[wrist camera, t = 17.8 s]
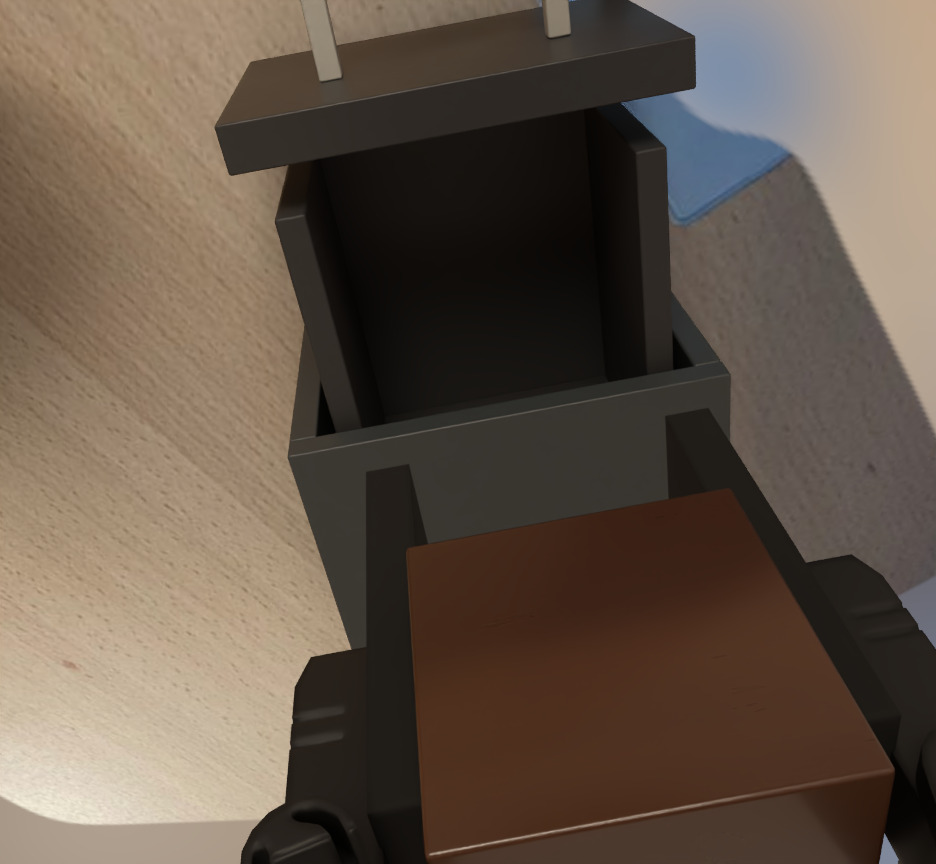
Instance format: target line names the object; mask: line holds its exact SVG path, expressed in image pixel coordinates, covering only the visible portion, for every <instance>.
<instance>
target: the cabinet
mask: <svg viewBox="0 0 936 864" xmlns="http://www.w3.org/2000/svg"><path fill="white" fill-rule="evenodd" d="M671 309H672V340H673V370H672V371H667V372H661V373H656V374H651V375H645V376H640V377H635V378H629V379H624V380H619V381H613V382H608V383H603V384H597V385H592V386H586V387H581V388H576V389H570V390H565V391H560V392H554V393H549V394H544V395H538V396H533V397H528V398H522V399H517V400H511V401H506V402H501V403H495V404H490V405H485V406H479V407H474V408H469V409H463V410H458V411H453V412H447V413H442V414H436V415H431V416H426V417H420V418H415V419H410V420H404V421H399V422H394V423H388V424H383V425H378V426H372V427H367V428H362V429H356V430H351V431H345V432H340V433H336V431H335V428H334V424H333V421H332V418H331V414H330V411H329V407H328V404H327V400H326V397H325V393H324V390H323V387H322V383H321V380H320V376H319V373H318V369H317V366H316V362H315V359H314V356H313V352H312V349H311V345H310V342H309V338H308V335H307V331H306V328H305V326H304V333H303V341H302V349H301V357H300V364H299V372H298V380H297V388H296V396H295V403H294V411H293V419H292V427H291V434H290V443H289V451H288V460H289V463H290V466H291V469H292V472H293V475H294V478H295V481H296V484H297V487H298V490H299V493H300V496H301V499H302V502H303V505H304V508H305V511H306V514H307V517H308V520H309V523H310V526H311V529H312V532H313V535H314V538H315V541H316V544H317V547H318V550H319V553H320V556H321V559H322V562H323V565H324V568H325V571H326V574H327V577H328V580H329V583H330V586H331V589H332V592H333V595H334V598H335V601H336V604H337V607H338V610H339V613H340V616H341V619H342V622H343V625H344V628H345V631H346V634H347V637H348V640H349V643H350V646H351V649H358V648H363V647H366V472H368V471H373V470H379V469H384V468H390V467H395V466H400V465H406V464H409V466H410V470H411V474H412V479H413V483H414V487H415V491H416V495H417V499H418V504H419V508H420V512H421V516H422V520H423V525H424V529H425V533H426V537H427V541H428V544H430V543H435V542H441V541H446V540H451V539H457V538H462V537H468V536H473V535H478V534H484V533H489V532H494V531H500V530H505V529H510V528H516V527H521V526H526V525H532V524H537V523H542V522H548V521H553V520H559V519H564V518H569V517H575V516H580V515H585V514H591V513H596V512H601V511H607V510H612V509H617V508H623V507H628V506H633V505H639V504H644V503H650V502H655V501H660V500H666V499H668V474H667V449H666V425H665V416H667V415H673V414H678V413H683V412H689V411H694V410H699V409H705V408H709V410H710V411H711V413H712V414H713V416H714V418H715V419H716V421H717V422H718V424H719V426H720V427H721V429H722V430H723V432H724V433H725V435H726V437H727V438H728V440H729V441H730V384H731V375H730V373H729V371H728V370H727V369H726V367H725V366H724V364H723V363H722V362H721V361H720V359H719V358H718V357H717V355H716V354H715V352H714V351H713V350H712V348H711V347H710V345H709V344H708V342H707V341H706V340H705V338H704V337H703V335H702V334H701V333H700V331H699V330H698V328H697V327H696V325H695V324H694V323H693V321H692V320H691V318H690V317H689V316H688V314H687V313H686V311H685V310H684V309H683V307H682V306H681V304H680V303H679V301H678V300H677V299H676V297H675V296H674V294H673V293H672V292H671Z"/></svg>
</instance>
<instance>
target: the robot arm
mask: <svg viewBox="0 0 936 864" xmlns="http://www.w3.org/2000/svg"><path fill="white" fill-rule="evenodd" d="M665 425H666V449H667V474H668V499H671V498H676V497H682V496H687V495H692V494H698V493H703V492H708V491H714V490H719V489H724V488H730V489H731V490H732V492H733V493H734V495H735V497H736V498H737V500H738V502H739V503H740V505H741V507H742V509H743V510H744V512H745V514H746V515H747V517H748V519H749V521H750V522H751V524H752V526H753V527H754V529H755V531H756V533H757V534H758V536H759V538H760V539H761V541H762V543H763V544H764V546H765V548H766V550H767V551H768V553H769V555H770V556H771V558H772V560H773V562H774V563H775V565H776V567H777V568H778V570H779V572H780V574H781V575H782V577H783V579H784V580H785V582H786V584H787V585H788V587H789V589H790V591H791V592H792V594H793V596H794V597H795V599H796V601H797V603H798V604H799V606H800V608H801V609H802V611H803V613H804V615H805V616H806V618H807V620H808V621H809V623H810V625H811V626H812V628H813V630H814V632H815V633H816V635H817V637H818V638H819V640H820V642H821V644H822V645H823V647H824V649H825V650H826V652H827V654H828V656H829V657H830V659H831V661H832V662H833V664H834V666H835V668H836V669H837V671H838V673H839V674H840V676H841V678H842V679H843V681H844V683H845V685H846V686H847V688H848V690H849V691H850V693H851V695H852V697H853V698H854V700H855V702H856V703H857V705H858V707H859V709H860V710H861V712H862V714H863V715H864V717H865V719H866V720H867V722H868V724H869V726H870V727H871V729H872V731H873V732H874V734H875V736H876V738H877V739H878V741H879V743H880V744H881V746H882V748H883V750H884V751H885V753H886V755H887V756H888V758H889V760H890V761H891V763H892V765H893V767H894V768H895V776H894V782H893V787H892V793H891V799H890V804H889V810H888V816H887V821H886V827H885V832H884V833H885V835H886V837H887V838H888V840H889V842H890V844H891V846H892V848H893V849H894V851H895V853H896V855H897V857H898V859H899V861H898V864H936V649H935V647H934V646H933V645H932V643H931V642H930V641H929V639H928V638H927V636H926V635H925V634H924V633H923V631H922V630H919V628H918V624H917V623H916V621H915V620H914V618H913V617H912V616H911V614H910V613H909V612H908V610H907V609H906V608H903V606H902V602H901V600H900V599H899V598H898V596H897V595H896V594H895V592H894V591H893V589H892V588H891V587H890V585H889V584H888V583H887V581H886V580H885V578H884V577H883V576H882V575H881V574H879V573H878V572H877V571H875V570H874V569H872V568H871V567H869V566H868V565H866V564H865V563H863V562H862V561H860V560H859V559H857V558H856V557H854V556H853V555H852V554H851V555H845V556H840V557H835V558H829V559H824V560H818V561H813V562H808V563H806V562H805V561H804V559H803V557H802V556H801V554H800V553H799V551H798V549H797V548H796V546H795V545H794V543H793V541H792V540H791V538H790V537H789V535H788V534H787V532H786V530H785V529H784V527H783V526H782V524H781V522H780V521H779V519H778V518H777V516H776V514H775V513H774V511H773V510H772V508H771V507H770V505H769V503H768V502H767V500H766V499H765V497H764V495H763V494H762V492H761V491H760V489H759V487H758V486H757V484H756V483H755V481H754V480H753V478H752V476H751V475H750V473H749V472H748V470H747V468H746V467H745V465H744V464H743V462H742V460H741V459H740V457H739V456H738V454H737V453H736V451H735V449H734V448H733V446H732V445H731V443H730V441H729V440H728V438H727V437H726V435H725V433H724V432H723V430H722V429H721V427H720V426H719V424H718V422H717V421H716V419H715V418H714V416H713V414H712V413H711V411H710V410H709V408H705V409H699V410H694V411H689V412H683V413H678V414H673V415H667V416H665ZM425 544H428V541H427V537H426V533H425V529H424V525H423V520H422V516H421V512H420V508H419V504H418V499H417V495H416V491H415V487H414V483H413V479H412V474H411V470H410V466H409V464H406V465H400V466H395V467H390V468H384V469H379V470H373V471H368V472H366V647H363V648H358V649H352V650H347V651H341V652H336V653H331V654H325V655H320V656H315V657H311V658H310V660H309V662H308V663H307V665H306V667H305V669H304V671H303V673H302V675H301V677H300V678H299V680H298V682H297V684H296V686H295V691H294V703H293V715H292V719H293V724H292V727H291V739H290V745H291V750H290V751H289V763H288V775H287V787H286V798H285V804H283V805H281V806H279V807H278V808H276V809H274V810H272V811H271V812H269V813H268V814H267V815H266V816H265V817H264V818H263V819H262V820H261V821H260V822H259V824H258V825H257V826H256V827H255V828H254V829H253V830H252V832H251V834H250V836H249V838H248V840H247V842H246V844H245V846H244V848H243V850H242V854H241V864H427V863H426V859H425V856H424V843H423V826H422V809H421V793H420V776H419V760H418V743H417V726H416V710H415V693H414V677H413V660H412V643H411V627H410V610H409V594H408V577H407V561H406V551H407V549H408V548H410V547H414V546H419V545H425Z"/></svg>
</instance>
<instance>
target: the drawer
mask: <svg viewBox="0 0 936 864" xmlns="http://www.w3.org/2000/svg"><path fill="white" fill-rule="evenodd" d="M300 2H301V6H302V10H303V14H304V18H305V22H306V27H307V31H308V35H309V39H310V43H311V48H312V50H311V51H306V52H300V53H295V54H290V55H284V56H279V57H274V58H269V59H263V60H258V61H253V62H250V64H249V66H248V68H247V69H246V71H245V73H244V75H243V77H242V78H241V80H240V82H239V84H238V86H237V87H236V89H235V91H234V93H233V95H232V96H231V98H230V100H229V102H228V104H227V105H226V107H225V109H224V111H223V112H222V114H221V116H220V118H219V120H218V121H217V123H216V125H215V131H216V134H217V137H218V140H219V144H220V147H221V150H222V153H223V157H224V160H225V163H226V166H227V169H228V173H229V175H231V176H233V175H238V174H243V173H249V172H254V171H259V170H265V169H270V168H275V167H281V166H286V165H289V166H288V170H287V174H286V178H285V182H284V186H283V190H282V194H281V198H280V202H279V206H278V210H277V214H276V218H275V225H276V228H277V231H278V235H279V238H280V242H281V245H282V249H283V252H284V256H285V259H286V262H287V266H288V269H289V273H290V276H291V280H292V283H293V287H294V290H295V293H296V297H297V300H298V304H299V307H300V311H301V314H302V318H303V321H304V324H305V328H306V331H307V335H308V338H309V342H310V345H311V349H312V352H313V356H314V359H315V362H316V366H317V369H318V373H319V376H320V380H321V383H322V387H323V390H324V393H325V397H326V400H327V404H328V407H329V411H330V414H331V418H332V421H333V424H334V428H335V431H336V433H340V432H345V431H351V430H356V429H362V428H367V427H372V426H378V425H383V424H388V423H394V422H399V421H404V420H410V419H415V418H420V417H426V416H431V415H436V414H442V413H447V412H453V411H458V410H463V409H469V408H474V407H479V406H485V405H490V404H495V403H501V402H506V401H511V400H517V399H522V398H528V397H533V396H538V395H544V394H549V393H554V392H560V391H565V390H570V389H576V388H581V387H586V386H592V385H597V384H603V383H608V382H613V381H619V380H624V379H629V378H635V377H640V376H645V375H651V374H656V373H661V372H667V371H672V370H673V340H672V309H671V277H670V246H669V215H668V183H667V152H666V147H665V145H663V144H662V143H661V142H660V141H659V140H658V139H657V138H656V137H655V136H654V135H653V134H652V133H651V132H650V131H649V130H648V129H647V128H646V127H645V126H644V125H643V124H642V123H641V122H640V121H638V120H637V119H636V118H635V117H634V116H633V115H632V114H631V113H630V112H629V111H628V110H627V109H626V108H625V107H624V106H623V105H622V104H621V102H626V101H632V100H637V99H642V98H647V97H653V96H658V95H663V94H669V93H674V92H679V91H685V90H690V89H694V88H695V87H696V61H695V36H694V35H692V34H690V33H688V32H686V31H684V30H683V29H681V28H678V27H677V26H675V25H673V24H672V23H670V22H668V21H666V20H664V19H662V18H660V17H658V16H657V15H654V14H653V13H651V12H649V11H647V10H646V9H644V8H642V7H640V6H638V5H636V4H635V3H633V2H631V1H629V0H576V1H571V2H569V1H568V0H542V7H539V8H534V9H528V10H523V11H518V12H512V13H507V14H502V15H496V16H491V17H486V18H481V19H475V20H470V21H465V22H459V23H454V24H449V25H443V26H438V27H433V28H428V29H422V30H417V31H412V32H406V33H401V34H396V35H390V36H385V37H380V38H375V39H369V40H364V41H359V42H353V43H348V44H343V45H336V40H335V36H334V31H333V27H332V23H331V18H330V14H329V9H328V5H327V0H300Z"/></svg>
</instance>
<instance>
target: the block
mask: <svg viewBox="0 0 936 864" xmlns="http://www.w3.org/2000/svg"><path fill="white" fill-rule="evenodd" d="M406 561H407V577H408V594H409V610H410V627H411V643H412V660H413V677H414V693H415V710H416V726H417V743H418V760H419V776H420V793H421V809H422V826H423V843H424V856H425V859H426V863H427V864H879V860H880V855H881V849H882V844H883V838H884V832H885V827H886V821H887V816H888V810H889V804H890V799H891V793H892V787H893V782H894V776H895V768H894V767H893V765H892V763H891V761H890V760H889V758H888V756H887V755H886V753H885V751H884V750H883V748H882V746H881V744H880V743H879V741H878V739H877V738H876V736H875V734H874V732H873V731H872V729H871V727H870V726H869V724H868V722H867V720H866V719H865V717H864V715H863V714H862V712H861V710H860V709H859V707H858V705H857V703H856V702H855V700H854V698H853V697H852V695H851V693H850V691H849V690H848V688H847V686H846V685H845V683H844V681H843V679H842V678H841V676H840V674H839V673H838V671H837V669H836V668H835V666H834V664H833V662H832V661H831V659H830V657H829V656H828V654H827V652H826V650H825V649H824V647H823V645H822V644H821V642H820V640H819V638H818V637H817V635H816V633H815V632H814V630H813V628H812V626H811V625H810V623H809V621H808V620H807V618H806V616H805V615H804V613H803V611H802V609H801V608H800V606H799V604H798V603H797V601H796V599H795V597H794V596H793V594H792V592H791V591H790V589H789V587H788V585H787V584H786V582H785V580H784V579H783V577H782V575H781V574H780V572H779V570H778V568H777V567H776V565H775V563H774V562H773V560H772V558H771V556H770V555H769V553H768V551H767V550H766V548H765V546H764V544H763V543H762V541H761V539H760V538H759V536H758V534H757V533H756V531H755V529H754V527H753V526H752V524H751V522H750V521H749V519H748V517H747V515H746V514H745V512H744V510H743V509H742V507H741V505H740V503H739V502H738V500H737V498H736V497H735V495H734V493H733V492H732V490H731V489H730V488H724V489H719V490H714V491H708V492H703V493H698V494H692V495H687V496H682V497H676V498H671V499H666V500H660V501H655V502H650V503H644V504H639V505H633V506H628V507H623V508H617V509H612V510H607V511H601V512H596V513H591V514H585V515H580V516H575V517H569V518H564V519H559V520H553V521H548V522H542V523H537V524H532V525H526V526H521V527H516V528H510V529H505V530H500V531H494V532H489V533H484V534H478V535H473V536H468V537H462V538H457V539H451V540H446V541H441V542H435V543H430V544H425V545H419V546H414V547H410V548H408V549H407V551H406Z"/></svg>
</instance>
